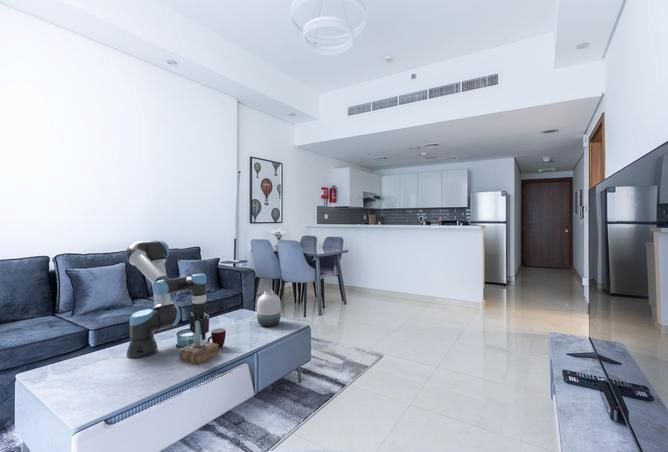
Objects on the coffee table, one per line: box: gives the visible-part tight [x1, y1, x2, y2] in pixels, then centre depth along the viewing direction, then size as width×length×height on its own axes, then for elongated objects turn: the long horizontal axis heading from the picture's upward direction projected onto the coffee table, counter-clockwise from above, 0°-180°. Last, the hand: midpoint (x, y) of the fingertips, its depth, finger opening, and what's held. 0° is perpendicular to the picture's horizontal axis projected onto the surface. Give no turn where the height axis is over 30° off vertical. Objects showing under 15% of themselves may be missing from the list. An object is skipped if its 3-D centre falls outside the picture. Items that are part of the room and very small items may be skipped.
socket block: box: [179, 341, 220, 366], centre depth 178 cm, size 14×14×6 cm
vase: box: [256, 290, 282, 327], centre depth 234 cm, size 17×17×24 cm
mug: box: [206, 327, 227, 349], centre depth 191 cm, size 11×8×10 cm
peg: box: [195, 319, 203, 349], centre depth 177 cm, size 4×4×16 cm
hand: (199, 344), depth 177 cm, fingers closed on peg, 4 cm apart
